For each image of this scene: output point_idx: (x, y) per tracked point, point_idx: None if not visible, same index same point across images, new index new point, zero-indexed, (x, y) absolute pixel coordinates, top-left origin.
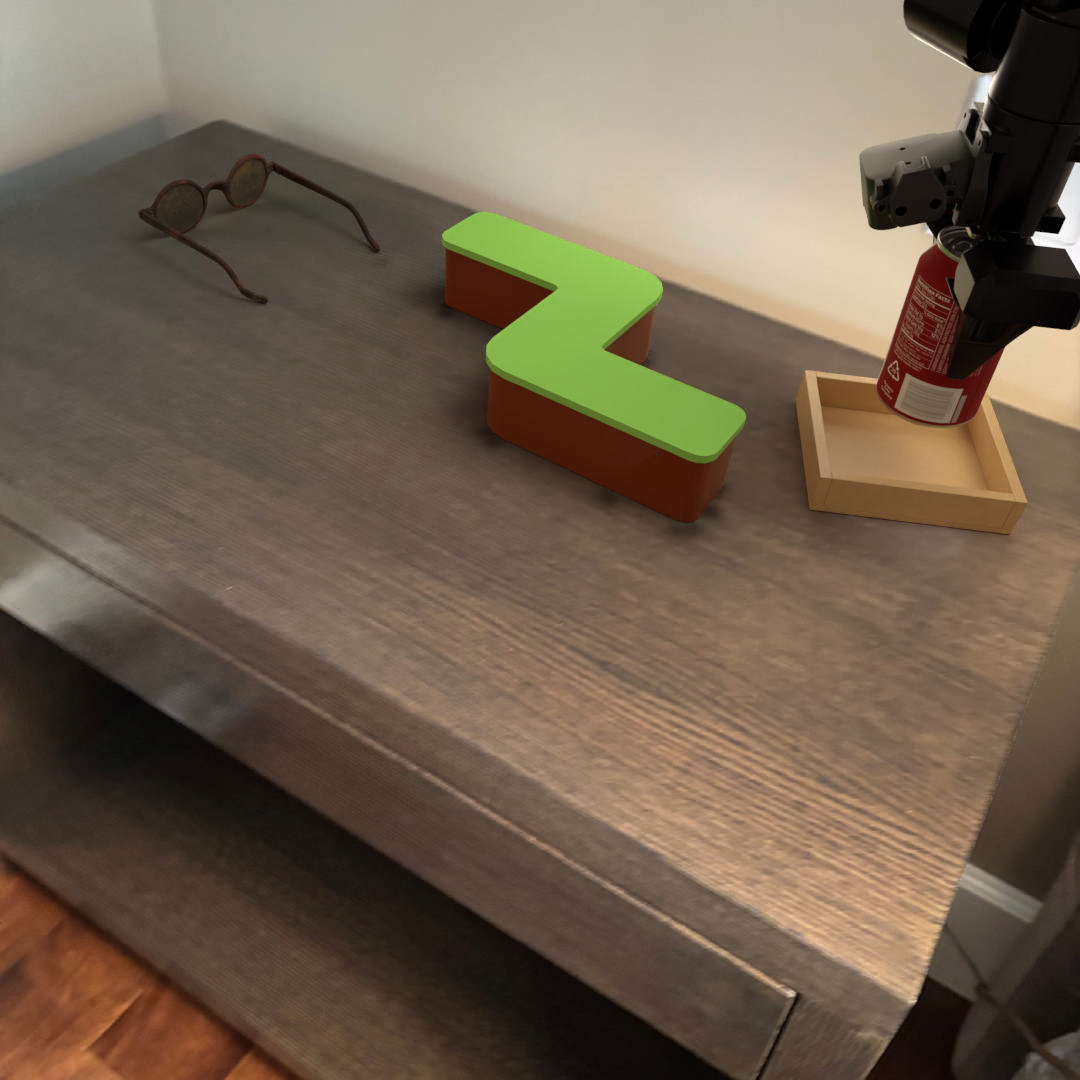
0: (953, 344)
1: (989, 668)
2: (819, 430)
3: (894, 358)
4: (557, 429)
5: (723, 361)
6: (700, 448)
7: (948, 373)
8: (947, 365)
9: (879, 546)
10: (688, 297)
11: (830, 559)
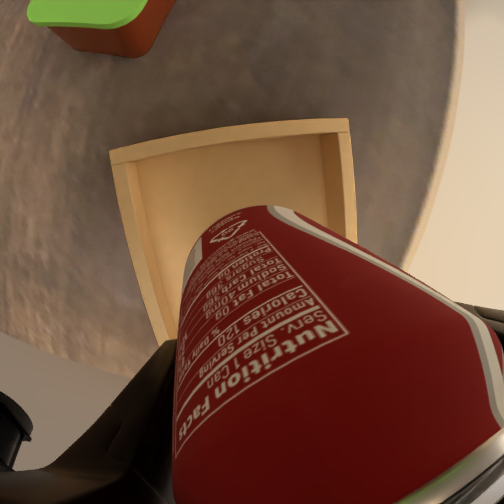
0: (144, 384)
1: (18, 320)
2: (212, 137)
3: (240, 231)
4: None
5: (369, 51)
6: (38, 5)
7: (160, 346)
8: (172, 347)
9: (95, 231)
10: (445, 42)
11: (59, 186)
